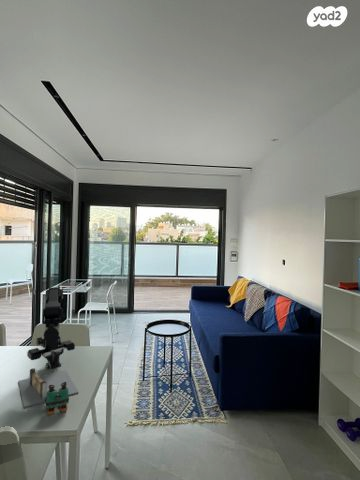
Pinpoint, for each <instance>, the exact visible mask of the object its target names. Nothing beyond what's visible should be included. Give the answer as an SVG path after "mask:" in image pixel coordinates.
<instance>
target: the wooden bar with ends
mask: <svg viewBox="0 0 360 480" xmlns="http://www.w3.org/2000/svg"><path fill="white" fill-rule="evenodd" d="M39 376H40V375H39V374H38V373H37V372H36V368H30V369H29V378H30V385H33V386H34V387H35V388H36V389H37V391H38V392H39V393H40V397H41V398H42V389H43V383H46V381H43V380H42V379H41V378H40V377H39Z"/></svg>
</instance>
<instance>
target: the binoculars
mask: <svg viewBox="0 0 360 480" xmlns="http://www.w3.org/2000/svg"><path fill="white" fill-rule="evenodd" d="M66 385H67V382H63V383H62V384H61V386H62V388H60V389H59V391H58V392H57V390H56V389H54V387H55V386H54V385H49V390H48V391H47V397H46V398H45V401H46V402H45V408H47V413H46V414H47V415H54V414H55V412H56V409H55V408H57V407H59V411H60V412H66V411H68V404H69V402H70V396H69V394H68V387H66Z"/></svg>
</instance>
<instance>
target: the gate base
mask: <svg viewBox="0 0 360 480" xmlns="http://www.w3.org/2000/svg"><path fill="white" fill-rule="evenodd" d="M38 376H39V377H40V378H41V379H42V380H43V381H46V383H43V389H42V398H41V397H40V393H39V392H38V391H37V389H36V388H35V387H34V386H33V385H30V377H29V378H24V379H20V380H18V385H19V391H20V395H21V396H20V397H21V398H22V399H21V400H22V404H23V408H24V409H26V408H30V407H34V406H38V405H40V404H44V403H45V404H46V401H45V398H46V397H47V391H48V390H49V385H54V386H55V387H54V389H56V390H57V392H58V391H59V389H60V388H62V386H61V384H62V383H63V382H67V385H66V387H68V394H69V397H70V396H74V395H77V394H79V391H78V389H77V386H76V385H75V383H74V382H73V380H72V378H71V377H70V375H69V373H68V371H67V370H66V369H64V370H59V371H54V372H51V373H45V374H42V375H38Z"/></svg>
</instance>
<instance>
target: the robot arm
mask: <svg viewBox="0 0 360 480" xmlns="http://www.w3.org/2000/svg"><path fill="white" fill-rule="evenodd" d="M62 299H64V289H61V288H60V287H58V286H57V287H55V286H54V287H53V286H52V287H48V289H47V290H45V300H46V303H45V305H44V308H43V309H42V322H41V323H42V325H44V332H43V337H42V336H41V337H36V342H35V343H36V344H35V345H36V346H40V347H42V348H43V349H39V348H38V347H35V348H31V349H28V350H27V353H26V354H27V355H26V356H27V358H28V359H30V361H35V360H39V359H41V357H43V358H44V359H46V361H47V362H46V363H45V365H46V368H47V369H48V370H49V369H50V370H53V369H54V368H58V367H61V366H62V364H61V362H60V357H61V355H63V354H64V351H65V350H64V349H66V350H67V351H73V350H75V348H76V345H75V343H74V342H73V341H72V340H65V341H62V338H61V336H60V323H61V324H62V321H63V320H64V309H63V307H61V304H62V302H63V301H62Z"/></svg>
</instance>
